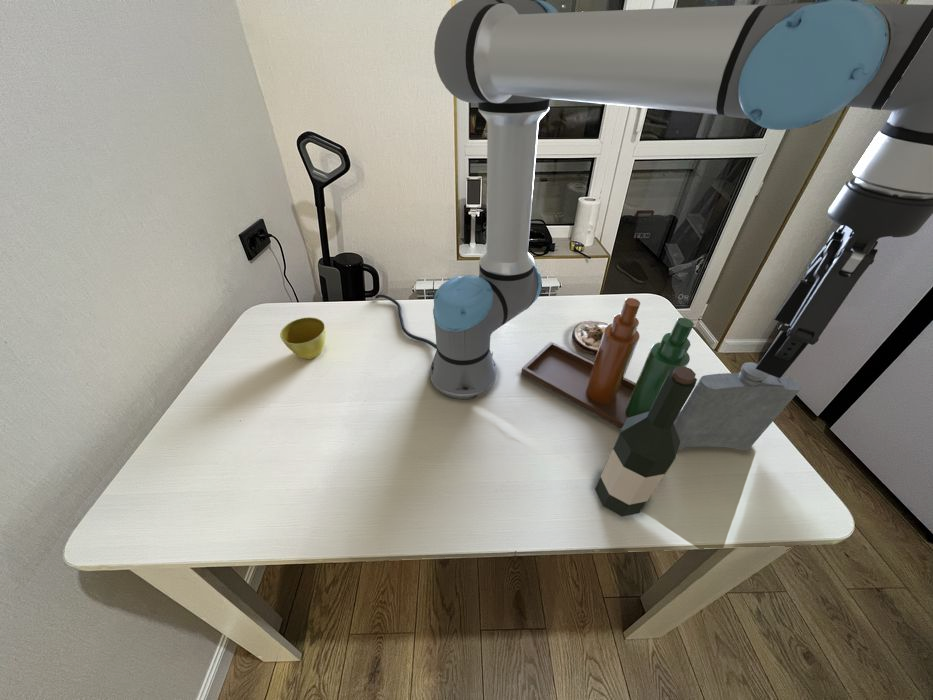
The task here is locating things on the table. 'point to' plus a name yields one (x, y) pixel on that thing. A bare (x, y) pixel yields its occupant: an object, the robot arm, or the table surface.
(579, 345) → the bowl of food
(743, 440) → the hip flask
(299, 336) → the flower pot
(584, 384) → the tray
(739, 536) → the table surface
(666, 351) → the green bottle
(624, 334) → the amber bottle
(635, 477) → the wine bottle
